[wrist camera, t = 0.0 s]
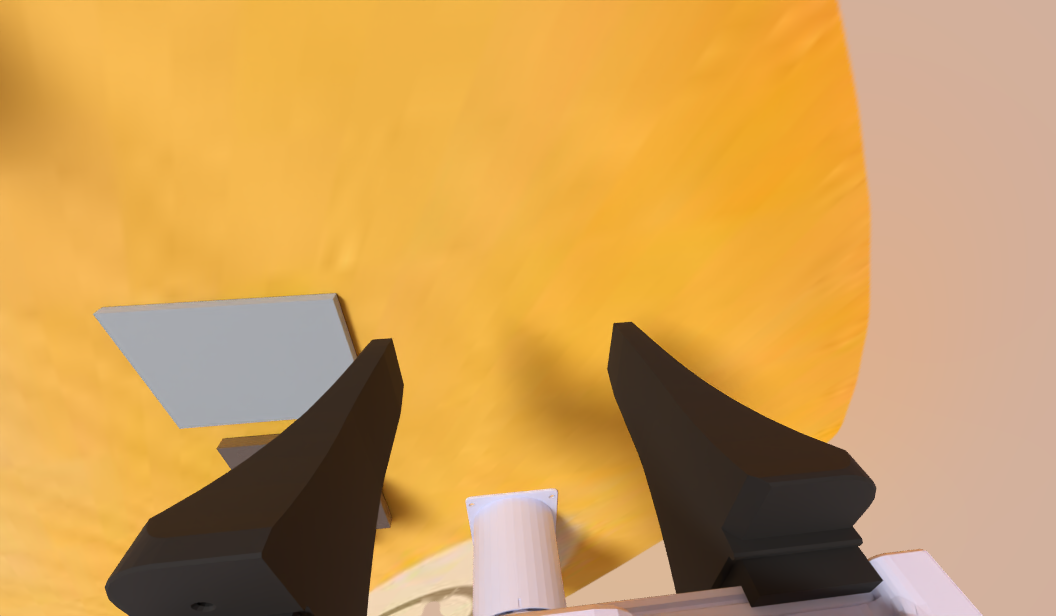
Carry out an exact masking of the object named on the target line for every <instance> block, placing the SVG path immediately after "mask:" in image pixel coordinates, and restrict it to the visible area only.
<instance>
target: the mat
mask: <svg viewBox="0 0 1056 616" xmlns="http://www.w3.org/2000/svg"><path fill="white" fill-rule="evenodd" d="M93 315H94V316H95V317H96V319H97V320H98V321H99V323H100V324H101V325H102V326H103V328H104V329H105V330H106V332H107V333H108V334H109V336H110V337H111V338H112V340H113V341H114V342H115V344H116V345H117V346H118V348H119V349H120V350H121V352H122V353H123V354H124V356H125V357H126V358H127V360H128V361H129V362H130V363H131V365H132V366H133V367H134V369H135V370H136V371H137V373H138V374H139V375H140V377H141V378H142V379H143V381H144V382H145V383H146V385H147V386H148V387H149V389H150V390H151V391H152V393H153V394H154V395H155V397H156V398H157V399H158V400H159V402H160V403H161V404H162V406H163V407H164V408H165V410H166V411H167V412H168V414H169V415H170V416H171V418H172V419H173V420H174V422H175V423H176V424H177V426H178V427H179V428H180V429H181V428H193V427H205V426H217V425H229V424H241V423H253V422H265V421H277V420H289V419H298V418H300V417H301V416H302V415H303V414H304V413H305V412H306V411H307V410H308V409H309V408H310V407H311V406H312V405H313V404H314V403H315V402H316V401H317V400H318V399H319V398H320V397H321V396H322V395H323V394H324V393H325V392H326V391H327V390H328V389H329V388H330V387H331V386H332V385H333V384H334V383H335V382H336V381H337V379H338V378H339V377H340V376H341V375H342V374H343V373H344V372H345V371H346V369H347V368H348V367H349V366H350V365H351V364H352V363H353V361H354V360H355V359H356V358H357V355H356V352H355V349H354V346H353V343H352V340H351V337H350V334H349V331H348V328H347V325H346V322H345V319H344V316H343V313H342V310H341V307H340V304H339V301H338V298H337V294H336V293H333V294H316V295H300V296H283V297H267V298H250V299H234V300H217V301H201V302H184V303H168V304H151V305H135V306H118V307H102V308H101V309H99V310H98V311H96V312H95V313H94V314H93Z"/></svg>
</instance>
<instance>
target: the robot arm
mask: <svg viewBox="0 0 1056 616" xmlns="http://www.w3.org/2000/svg"><path fill="white" fill-rule="evenodd" d="M607 370H608V374H609V378H610V382H611V385H612V389H613V393H614V396H615V399H616V401H617V404H618V406H619V409H620V411H621V413H622V416H623V418H624V421H625V423H626V425H627V428H628V430H629V433H630V435H631V437H632V440H633V442H634V445H635V447H636V449H637V452H638V454H639V457H640V460H641V463H642V465H643V469H644V472H645V475H646V479H647V482H648V485H649V489H650V492H651V495H652V499H653V503H654V506H655V510H656V513H657V517H658V521H659V524H660V528H661V532H662V536H663V540H664V544H665V548H666V552H667V556H668V560H669V564H670V568H671V572H672V577H673V581H674V585H675V590H676V594H673V595H664V596H656V597H647V598H640V599H632V600H624V601H615V602H607V603H598V604H591V605H582V606H575V607H566V601H565V594H564V588H563V581H562V575H561V568H560V561H559V555H558V548H557V542H556V535H555V534H556V515H557V497H558V491H557V490H556V489H542V490H532V491H522V492H512V493H502V494H492V495H482V496H472V497H468V498H467V499H466V507H467V512H468V518H469V524H470V529H471V535H472V541H473V546H474V549H473V616H983V615H982V614H981V613H980V612H979V611H978V610H977V608H976V607H975V606H974V605H973V604H972V603H971V601H970V600H969V599H968V598H967V597H966V596H965V595H964V593H963V592H962V591H961V590H960V589H959V588H958V586H957V585H956V584H955V583H954V582H953V581H952V580H951V578H950V577H949V576H948V575H947V574H946V573H945V571H944V570H943V569H942V568H941V567H940V566H939V565H938V563H937V562H936V561H935V560H934V559H933V558H932V556H931V555H930V554H929V553H928V552H927V551H926V550H923V549H917V550H907V551H900V552H892V553H883V554H879V555H876V556H873V557H871V558H869V559H867V558H866V556H865V555H864V554H863V552H862V551H861V550H860V548H859V547H858V546H860V545H861V544H862V543H863V542H862V538H861V537H860V535H859V534H858V533H857V532H856V530H855V529H854V528H853V525H854V524H855V523H856V521H857V520H858V519H859V518H860V517H861V515H863V513H864V512H865V511H866V510H867V509H868V507H869V506H870V505H871V503H872V501H873V500H874V498H875V493H876V486H875V484H874V482H873V481H872V480H871V478H869V476H868V475H867V474H866V473H865V472H864V470H863V469H862V468H861V467H860V466H859V465H858V464H857V462H855V460H854V459H853V458H852V457H851V456H850V455H849V454H848V452H846V451H845V450H843V449H840V448H838V447H835V446H833V445H830V444H827V443H825V442H822V441H820V440H817V439H814V438H812V437H809V436H807V435H804V434H802V433H800V432H797V431H795V430H793V429H791V428H788V427H786V426H784V425H782V424H779V423H777V422H775V421H773V420H771V419H769V418H767V417H765V416H763V415H761V414H759V413H757V412H755V411H753V410H752V409H750V408H748V407H746V406H744V405H742V404H740V403H739V402H737V401H735V400H733V399H732V398H730V397H728V396H727V395H725V394H724V393H722V392H720V391H719V390H717V389H716V388H714V387H712V386H711V385H709V384H708V383H706V382H705V381H703V380H702V379H701V378H699V377H698V376H697V375H695V374H694V373H692V372H691V371H690V370H688V369H687V368H686V367H684V366H683V365H682V364H680V363H679V362H678V361H677V360H675V359H674V358H673V357H672V356H671V355H669V354H668V353H667V352H666V351H665V350H663V349H662V348H661V347H660V346H659V345H657V344H656V343H655V342H654V341H653V340H652V339H651V338H649V337H648V336H647V335H646V334H645V333H644V332H643V331H642V330H640V329H639V328H638V327H637V326H636V325H635V324H633V323H632V322H624V323H614V324H613V332H612V339H611V346H610V353H609V361H608V368H607ZM403 388H404V384H403V380H402V376H401V372H400V368H399V364H398V360H397V356H396V352H395V348H394V344H393V340H392V338H389V339H375V340H372V341H371V342H370V343H369V344H368V345H367V346H366V347H365V348H364V350H363V351H362V352H361V353H360V354H359V356H358V357H357V358H356V359H355V360H354V361H353V363H352V364H351V365H350V366H349V367H348V368H347V369H346V371H345V372H344V373H343V374H342V375H341V376H340V377H339V378H338V379H337V381H336V382H335V383H334V384H333V385H332V386H331V387H330V388H329V389H328V390H327V391H326V392H325V393H324V394H323V395H322V396H321V397H320V398H319V399H318V400H317V401H316V402H315V403H314V404H313V405H312V406H311V407H310V408H309V409H308V410H307V411H306V412H305V413H304V414H303V415H302V416H301V417H300V418H298V419H297V420H296V421H295V422H294V423H293V424H291V425H290V426H289V427H288V428H287V429H286V430H284V431H283V432H282V433H281V434H280V435H278V436H277V437H276V438H274V439H273V440H272V441H270V442H269V443H268V444H267V445H265V446H264V447H263V448H261V449H260V450H259V451H257V452H256V453H255V454H253V455H252V456H251V457H249V458H248V459H246V460H245V461H244V462H242V463H241V464H239V465H238V466H236V467H235V468H233V469H232V470H230V471H229V472H228V473H226V474H224V475H223V476H221V477H220V478H218V479H217V480H215V481H214V482H212V483H210V484H209V485H207V486H206V487H204V488H202V489H201V490H199V491H198V492H196V493H194V494H192V495H191V496H189V497H187V498H185V499H184V500H182V501H180V502H179V503H177V504H175V505H173V506H172V507H170V508H168V509H166V510H165V511H163V512H161V513H159V514H158V515H156V516H154V517H152V518H150V519H149V521H148V522H147V523H146V525H145V526H144V527H143V529H142V530H141V532H140V533H139V535H138V536H137V538H136V539H135V541H134V542H133V544H132V545H131V546H130V548H129V549H128V551H127V552H126V554H125V555H124V557H123V558H122V560H121V561H120V563H119V564H118V566H117V567H116V569H115V570H114V571H113V573H112V574H111V576H110V577H109V579H108V581H107V583H106V585H105V590H106V593H107V596H108V599H109V600H110V601H111V602H112V603H113V604H114V605H115V606H116V607H118V608H119V609H121V610H122V611H123V612H125V613H126V614H128V615H129V616H367V608H368V596H369V586H370V577H371V568H372V559H373V550H374V542H375V535H376V527H377V519H378V512H379V506H380V499H381V492H382V487H383V482H384V477H385V473H386V469H387V466H388V462H389V458H390V454H391V450H392V446H393V442H394V438H395V434H396V430H397V426H398V422H399V418H400V414H401V406H402V397H403ZM551 495H554V496H553V497H550V496H551ZM471 503H474V505H470V504H471Z"/></svg>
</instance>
